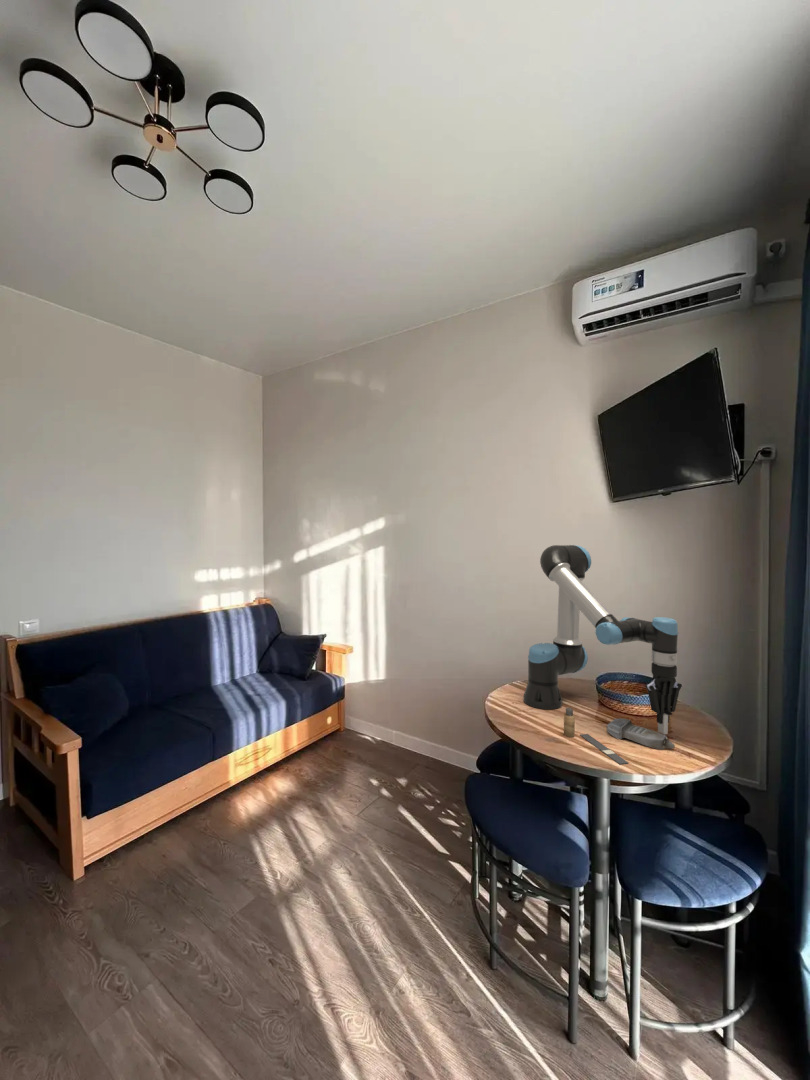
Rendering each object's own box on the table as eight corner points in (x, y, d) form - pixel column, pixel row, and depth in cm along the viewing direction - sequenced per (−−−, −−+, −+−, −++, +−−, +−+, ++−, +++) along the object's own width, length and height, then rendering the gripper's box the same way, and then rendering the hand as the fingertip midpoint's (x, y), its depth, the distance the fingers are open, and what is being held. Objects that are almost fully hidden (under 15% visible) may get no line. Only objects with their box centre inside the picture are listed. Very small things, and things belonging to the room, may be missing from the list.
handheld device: (670, 756, 140) (670, 741, 140) (604, 736, 154) (605, 722, 154) (678, 746, 147) (678, 732, 147) (615, 728, 161) (615, 715, 161)
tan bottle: (561, 733, 155) (562, 707, 155) (570, 732, 156) (571, 706, 156) (567, 737, 151) (567, 711, 151) (576, 736, 152) (576, 710, 152)
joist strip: (579, 735, 153) (579, 734, 153) (587, 734, 154) (587, 733, 154) (619, 764, 134) (619, 763, 134) (628, 763, 134) (628, 762, 134)
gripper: (656, 667, 147) (654, 739, 147) (689, 665, 150) (687, 735, 150) (639, 661, 154) (638, 729, 155) (671, 659, 157) (669, 726, 158)
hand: (662, 732), depth 153 cm, fingers closed
